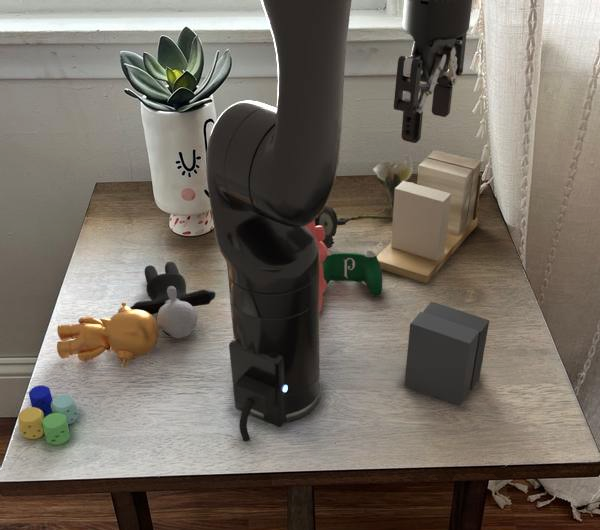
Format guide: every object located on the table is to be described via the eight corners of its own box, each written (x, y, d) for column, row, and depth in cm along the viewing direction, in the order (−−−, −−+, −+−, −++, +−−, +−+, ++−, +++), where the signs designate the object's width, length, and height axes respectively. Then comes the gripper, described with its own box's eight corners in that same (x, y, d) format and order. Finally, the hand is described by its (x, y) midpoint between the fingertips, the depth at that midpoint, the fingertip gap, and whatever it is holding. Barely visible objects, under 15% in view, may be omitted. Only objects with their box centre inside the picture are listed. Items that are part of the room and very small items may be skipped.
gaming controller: (381, 299, 110) (383, 255, 110) (381, 294, 106) (384, 248, 107) (312, 297, 111) (315, 253, 111) (310, 291, 107) (313, 246, 107)
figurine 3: (304, 324, 104) (303, 219, 93) (279, 305, 107) (275, 202, 96) (335, 308, 106) (337, 204, 96) (309, 290, 109) (308, 188, 99)
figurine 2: (121, 292, 110) (138, 355, 99) (113, 253, 106) (130, 315, 95) (202, 277, 112) (228, 337, 101) (197, 239, 109) (223, 297, 98)
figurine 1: (65, 381, 100) (164, 373, 99) (49, 363, 94) (153, 354, 94) (67, 318, 102) (163, 309, 102) (51, 296, 97) (152, 288, 96)
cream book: (436, 261, 111) (443, 201, 105) (390, 247, 114) (394, 188, 108) (444, 252, 113) (451, 193, 107) (398, 238, 116) (403, 180, 110)
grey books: (460, 406, 92) (470, 343, 86) (404, 385, 95) (409, 323, 89) (479, 378, 95) (490, 316, 89) (424, 358, 98) (431, 297, 92)
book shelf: (426, 283, 110) (433, 216, 103) (373, 266, 113) (376, 200, 106) (476, 225, 120) (486, 160, 113) (426, 211, 123) (433, 147, 116)
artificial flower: (294, 242, 120) (288, 172, 116) (410, 211, 131) (408, 146, 127) (331, 253, 113) (326, 179, 109) (450, 219, 124) (449, 152, 120)
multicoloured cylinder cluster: (57, 393, 95) (5, 418, 92) (52, 376, 93) (-1, 401, 90) (92, 431, 90) (38, 459, 87) (88, 414, 88) (33, 442, 85)
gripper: (435, -35, 96) (423, 101, 107) (379, -2, 88) (371, 142, 98) (496, -26, 93) (476, 113, 104) (444, 9, 85) (428, 157, 96)
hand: (425, 127), depth 101 cm, fingers open, 8 cm apart
